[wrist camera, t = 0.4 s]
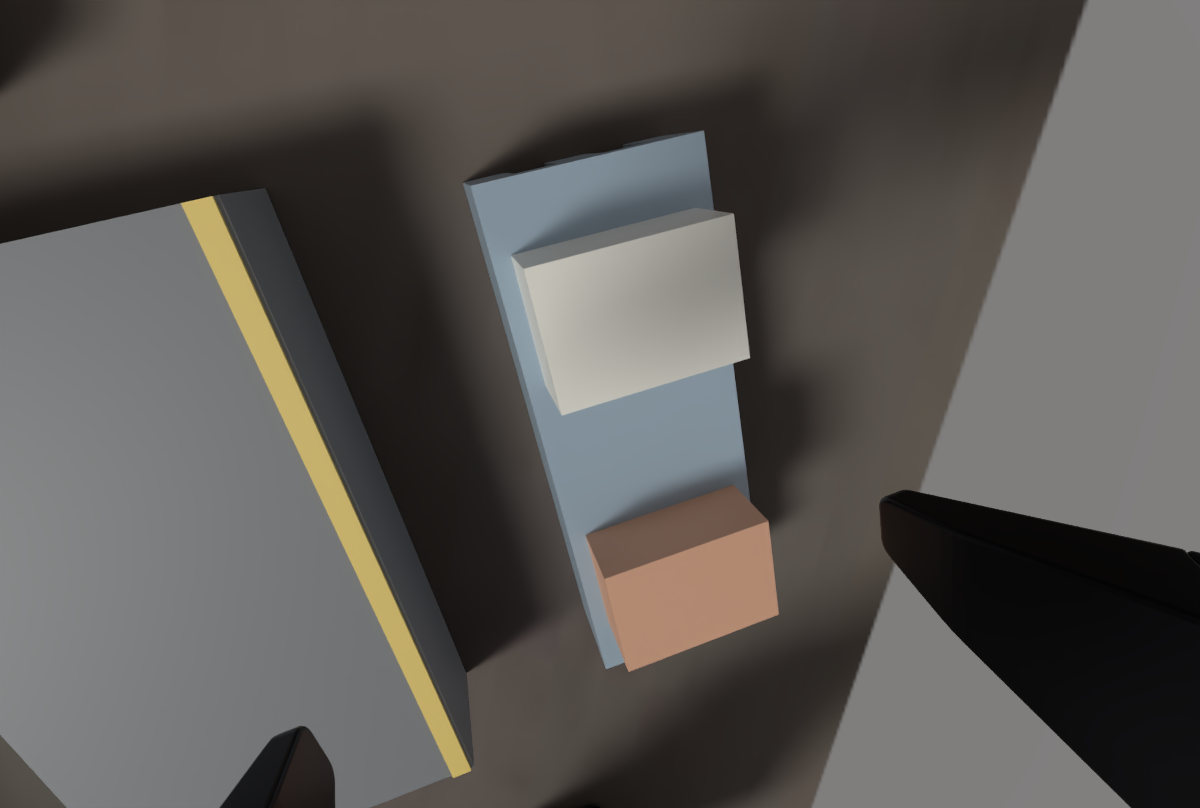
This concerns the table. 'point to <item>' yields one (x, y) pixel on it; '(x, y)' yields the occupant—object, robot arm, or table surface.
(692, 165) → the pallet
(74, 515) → the dock
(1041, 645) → the robot arm
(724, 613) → the salmon brown block
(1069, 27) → the table surface
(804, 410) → the table surface
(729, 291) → the off-white block
